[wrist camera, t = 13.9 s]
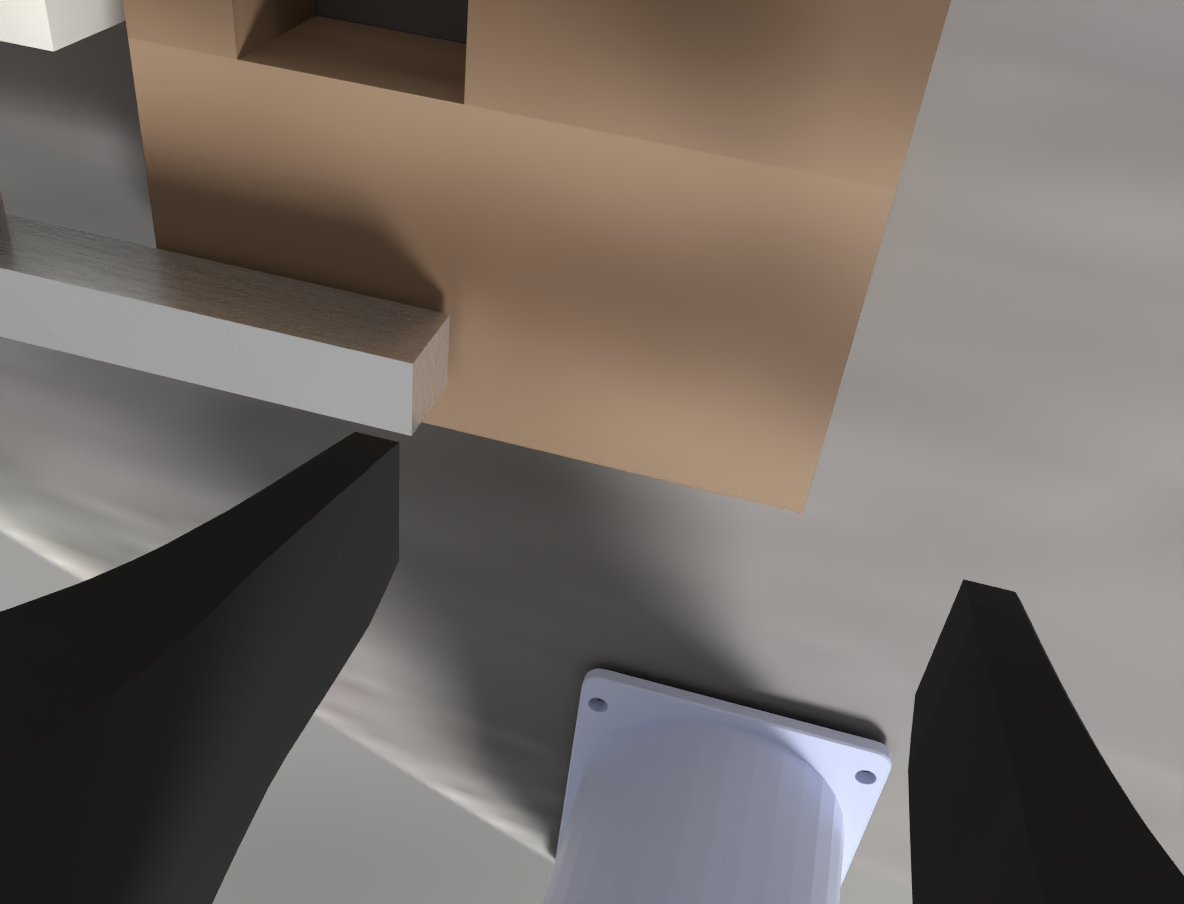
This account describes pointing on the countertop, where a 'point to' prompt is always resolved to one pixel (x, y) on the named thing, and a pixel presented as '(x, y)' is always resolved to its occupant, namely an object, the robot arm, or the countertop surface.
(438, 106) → the socket block
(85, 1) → the white block with hole
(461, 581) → the countertop surface
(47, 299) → the bar
